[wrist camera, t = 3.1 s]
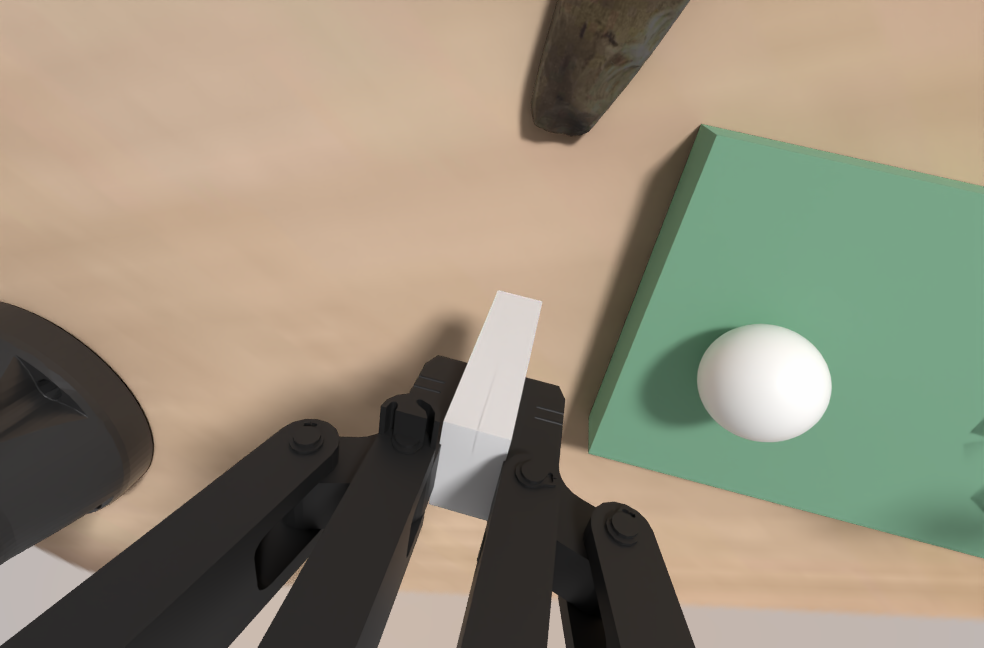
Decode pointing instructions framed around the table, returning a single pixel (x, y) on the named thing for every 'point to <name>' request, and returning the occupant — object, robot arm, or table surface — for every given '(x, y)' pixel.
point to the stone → (595, 58)
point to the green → (816, 335)
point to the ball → (764, 383)
